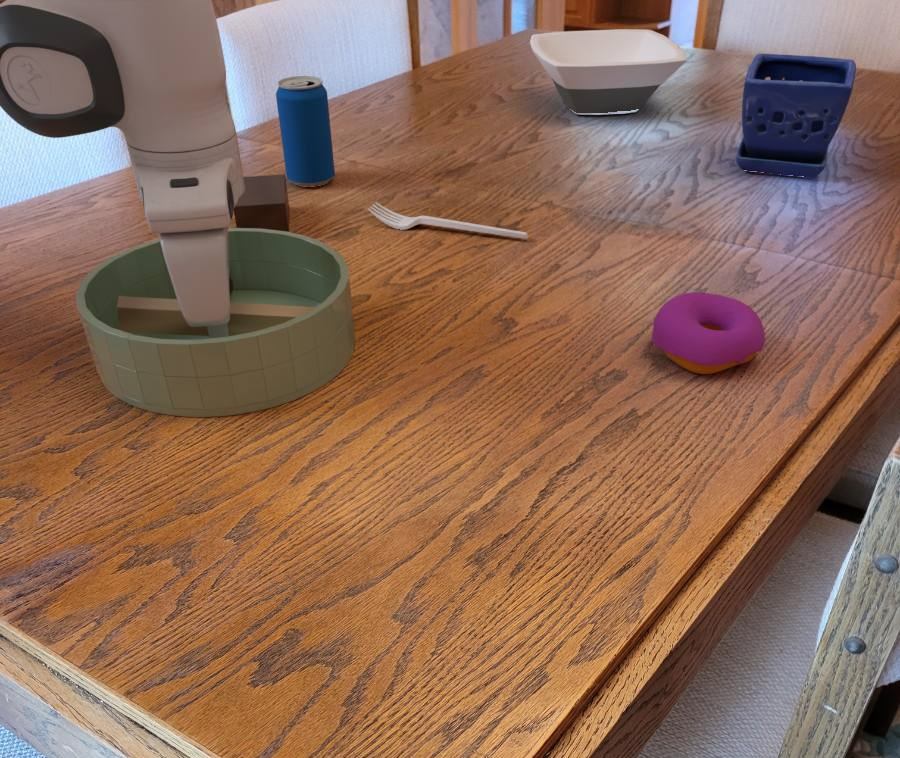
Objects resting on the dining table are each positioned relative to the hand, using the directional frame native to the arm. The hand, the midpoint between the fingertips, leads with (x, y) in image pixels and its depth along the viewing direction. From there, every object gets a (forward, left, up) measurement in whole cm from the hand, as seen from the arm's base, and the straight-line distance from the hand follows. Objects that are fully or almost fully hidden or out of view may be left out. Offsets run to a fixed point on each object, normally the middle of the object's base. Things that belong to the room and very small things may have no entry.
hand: (219, 327), depth 85 cm
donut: (+45, -7, -3) cm, 46 cm away
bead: (-1, +10, -1) cm, 11 cm away
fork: (+25, +27, -3) cm, 37 cm away
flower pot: (+73, +42, -3) cm, 85 cm away
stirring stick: (0, 0, 0) cm, 0 cm away
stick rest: (+3, +33, -3) cm, 33 cm away
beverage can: (+9, +47, -3) cm, 48 cm away
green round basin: (0, +1, -3) cm, 3 cm away
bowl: (+56, +74, -3) cm, 93 cm away
